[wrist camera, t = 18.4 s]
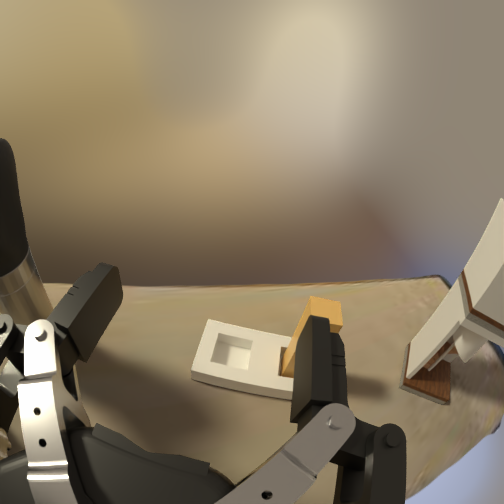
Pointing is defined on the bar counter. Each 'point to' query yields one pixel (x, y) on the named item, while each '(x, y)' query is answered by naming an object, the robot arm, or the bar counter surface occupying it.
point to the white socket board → (242, 360)
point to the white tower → (460, 319)
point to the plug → (313, 308)
